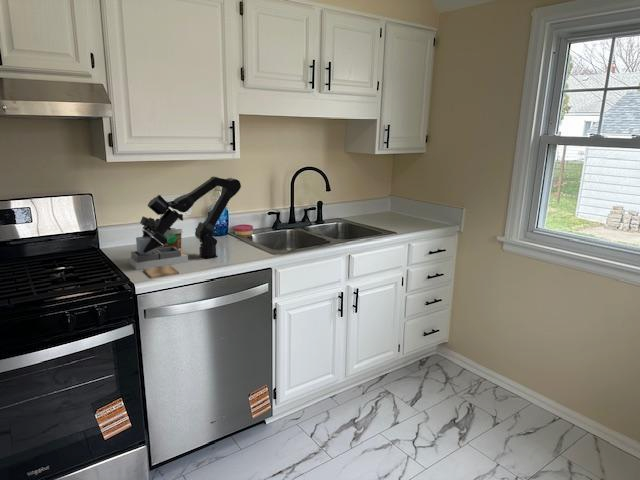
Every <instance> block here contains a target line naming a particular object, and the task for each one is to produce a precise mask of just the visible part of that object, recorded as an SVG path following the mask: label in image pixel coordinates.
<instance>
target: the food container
mask: <svg viewBox="0 0 640 480" xmlns="http://www.w3.org/2000/svg"><path fill="white" fill-rule="evenodd" d="M170 228H171V229H170V230H168V231H167V232H166V233H165V234H164V237H165V238H167V243H166V244H165V245H163V246H164V247H163V248H165V247H173V246H174V247H176V248H177V249H179V248H180V249H182V234H183V229H182V228H175V227H170ZM180 249H179V250H180Z"/></svg>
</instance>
